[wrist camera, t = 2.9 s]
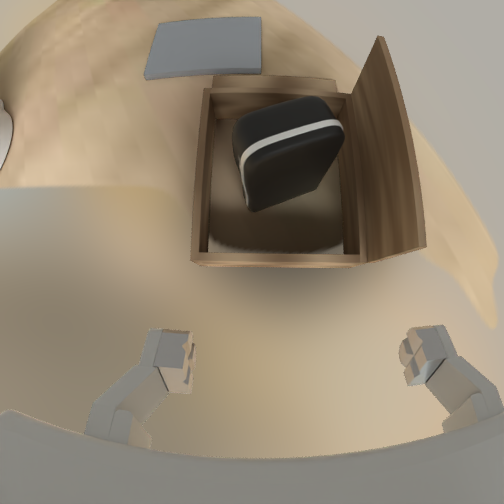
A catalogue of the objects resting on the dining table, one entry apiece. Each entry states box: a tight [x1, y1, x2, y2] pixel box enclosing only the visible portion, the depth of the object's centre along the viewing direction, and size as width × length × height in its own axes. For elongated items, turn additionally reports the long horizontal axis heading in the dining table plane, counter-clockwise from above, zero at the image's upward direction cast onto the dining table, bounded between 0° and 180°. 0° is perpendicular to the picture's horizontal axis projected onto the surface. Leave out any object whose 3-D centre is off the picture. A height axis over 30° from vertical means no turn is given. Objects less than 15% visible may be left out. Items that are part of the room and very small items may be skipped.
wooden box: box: [190, 36, 427, 268], centre depth 22 cm, size 14×20×12 cm
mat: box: [144, 17, 261, 80], centre depth 30 cm, size 13×10×1 cm
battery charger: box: [232, 96, 345, 212], centre depth 22 cm, size 7×4×11 cm, turn 112°
